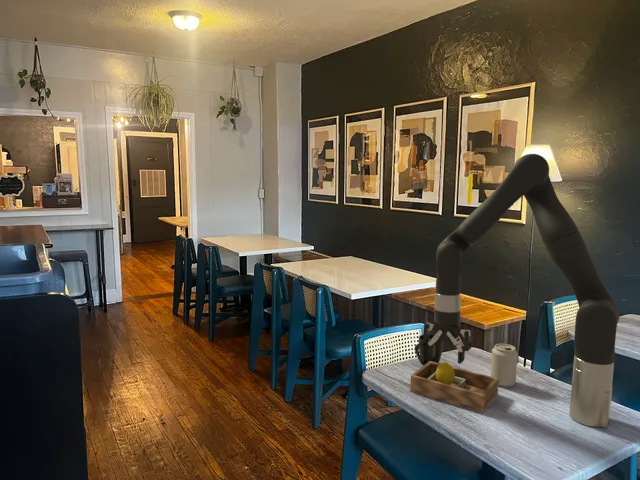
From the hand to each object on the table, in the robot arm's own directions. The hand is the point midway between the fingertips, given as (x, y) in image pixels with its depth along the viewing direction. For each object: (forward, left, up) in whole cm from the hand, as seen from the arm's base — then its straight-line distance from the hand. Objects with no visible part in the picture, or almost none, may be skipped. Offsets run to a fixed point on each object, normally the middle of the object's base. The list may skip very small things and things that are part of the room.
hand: (446, 359), depth 144 cm
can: (-13, -16, -10) cm, 23 cm away
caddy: (-3, 0, -10) cm, 10 cm away
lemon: (0, 0, -9) cm, 9 cm away
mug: (+12, -14, -10) cm, 21 cm away
